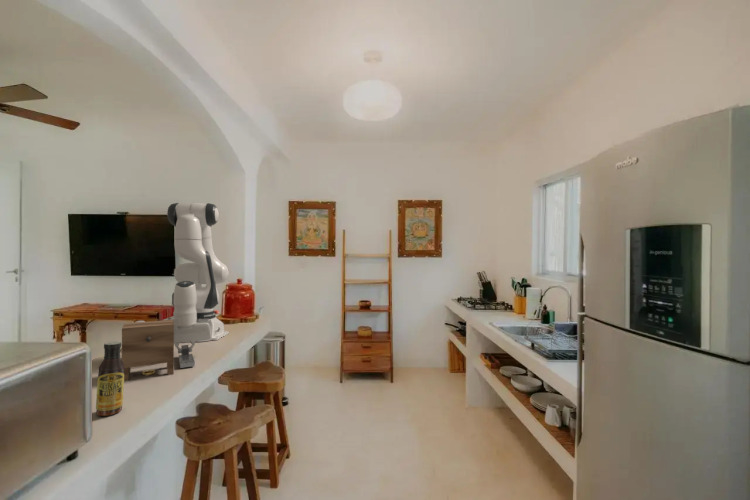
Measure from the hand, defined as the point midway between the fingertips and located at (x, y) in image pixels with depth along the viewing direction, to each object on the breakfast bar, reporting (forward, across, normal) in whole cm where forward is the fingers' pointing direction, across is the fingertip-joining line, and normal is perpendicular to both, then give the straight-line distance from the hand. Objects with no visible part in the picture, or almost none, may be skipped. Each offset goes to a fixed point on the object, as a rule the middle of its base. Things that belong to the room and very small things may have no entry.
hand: (185, 352), depth 158 cm
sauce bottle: (+2, +22, +48) cm, 53 cm away
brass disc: (+2, +13, +15) cm, 20 cm away
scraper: (+2, 0, +6) cm, 6 cm away
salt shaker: (+3, +17, -24) cm, 29 cm away
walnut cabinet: (+2, +13, +15) cm, 20 cm away
